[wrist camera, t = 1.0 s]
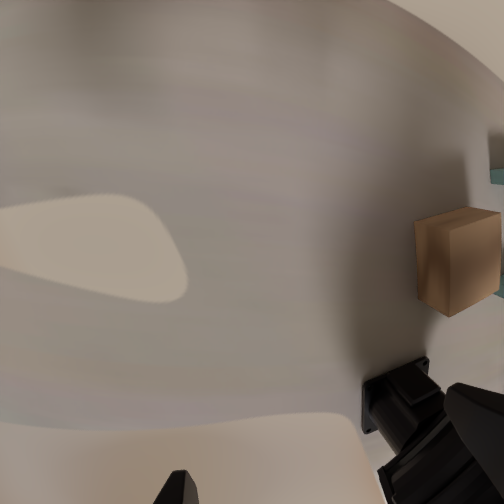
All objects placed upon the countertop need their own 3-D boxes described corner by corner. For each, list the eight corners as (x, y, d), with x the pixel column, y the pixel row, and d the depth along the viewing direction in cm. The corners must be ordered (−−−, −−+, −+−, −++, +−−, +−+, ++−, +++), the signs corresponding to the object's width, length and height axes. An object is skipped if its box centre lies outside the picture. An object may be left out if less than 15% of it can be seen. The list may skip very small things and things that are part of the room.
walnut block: (467, 275, 22) (499, 289, 18) (416, 297, 21) (448, 317, 17) (465, 206, 20) (500, 212, 16) (412, 221, 20) (449, 230, 16)
